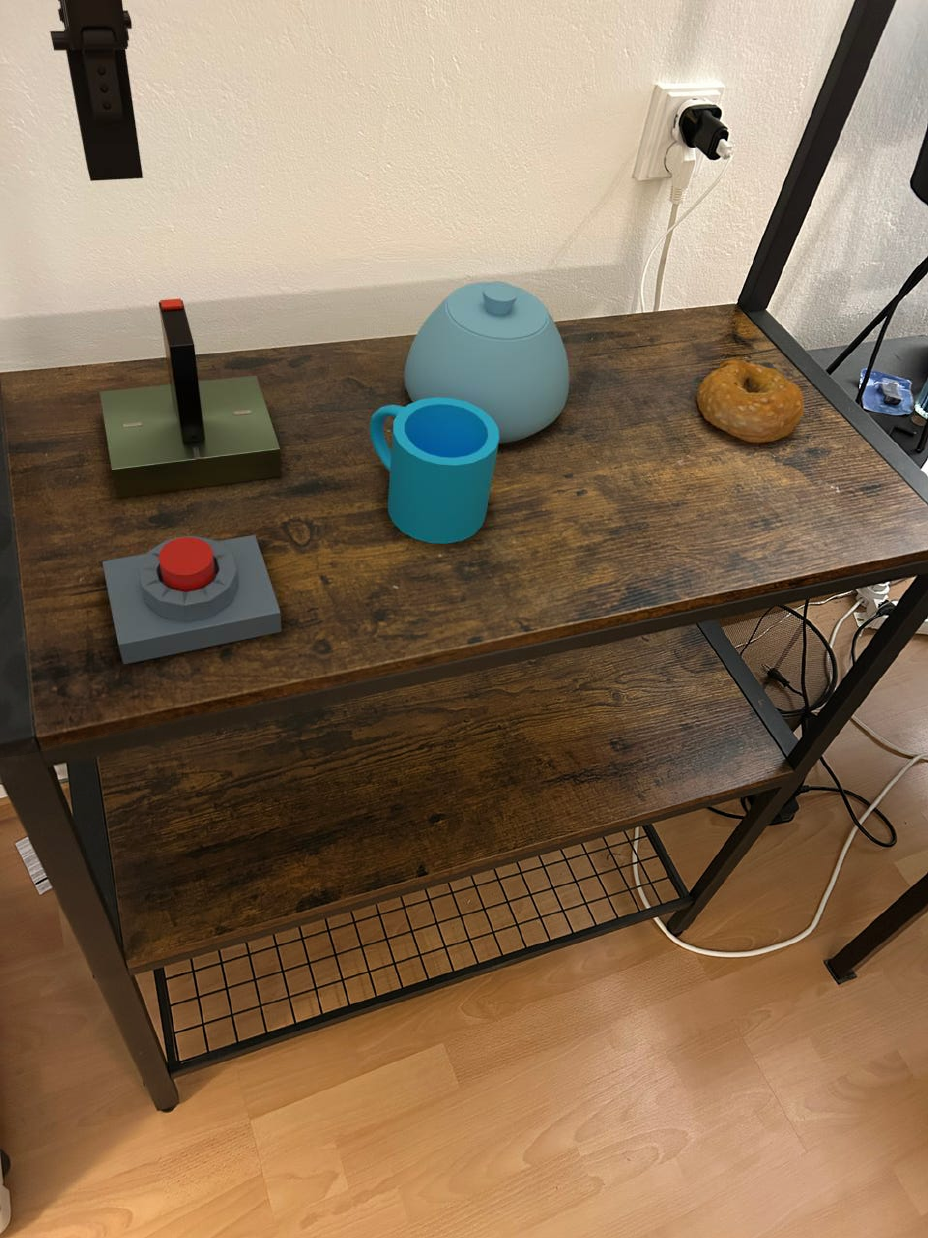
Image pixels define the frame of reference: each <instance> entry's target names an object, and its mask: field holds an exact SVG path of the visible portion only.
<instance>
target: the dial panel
mask: <svg viewBox="0 0 928 1238" xmlns="http://www.w3.org/2000/svg"><path fill="white" fill-rule="evenodd" d="M198 381H199V390H200V398H201V407H202V416H203V424H204V433H205V441H197V442H189V443H182V439H181V435H180V430H179V426H178V422H177V417H176V413H175V409H174V404H173V400H172V394H171V387H170V383H169V384H160V385H150V386H140V387H139V386H138V387H131V388H121V389H111V390H102V391H101V390H100V391H99V392H98V393H99V398H100V399H99V400H100V405H101V411H102V416H103V423H104V430H105V436H106V443H107V449H108V453H109V454H108V455H109V462H110V468H111V472H112V477H113V483H114V487H115V492H116V496H117V498H118V499H123V498H130V497H131V498H132V497H135V496H136V497H138V496H146V495H152V494H153V495H154V494H160V493H168V492H169V493H170V492H175V491H176V492H177V491H183V490H190V489H198V488H205V487H212V486H220V485H228V484H236V483H244V482H251V481H258V480H265V479H275V478H280V477H282V464H281V463H282V460H281V459H282V458H281V447H280V443H279V441H278V438H277V435H276V432H275V429H274V426H273V425H274V424H273V423H272V420H271V416H270V413H269V411H268V406H267V403H266V402H265V401H266V400H265V398H264V395H263V391H262V388H261V386H260V382H259V379H258V376H257V375H248V376H239V377H238V376H237V377H229V378H227V377H226V378H218V379H208V380H198Z"/></svg>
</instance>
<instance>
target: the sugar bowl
mask: <svg viewBox="0 0 928 1238" xmlns="http://www.w3.org/2000/svg"><path fill="white" fill-rule="evenodd" d="M569 371H570V369H569V361H568V356H567V351H566V348H565V344H564V342H563V339H562V335H560V332H559V330H558V327H557V326H556V323H555V321H554V319H553V316H552V314H551V313H550V311H549V310H548V308H547V306H546V305H545V304H544V303H543V301H541V300H540V298H538V297H537V296H535V295H534V294H533V293H531V292H529V291H527V290H525V289H523V288H521V287H518V286H515V285H512V284H510V283H508V282H505V281H495V280H494V281H480V282H474V283H469V284H466V285H465V284H464V285H463V286H460V287H458V288H457V289H455V290H453V291H452V292H451V293H450V294H449V295H448V296H447V297H445V298H444V299H443V300H442V301H441V302H440V304H439V305H437V307H436V308H435V309H434V310H433V311H432V312H431V313H430V315H429V316H428V317H427V318H426V320H425V321H424V322H423V323H422V325H421V326H420V328H419V330H418V331H417V333H416V334H415V337H414V339H413V341H412V343H411V346H410V348H409V351H408V355H407V357H406V361H405V365H404V372H403V373H404V374H403V381H404V386H405V389H406V392H407V394H408V397H409V399H410V400H411V403H414V402H416V401H419V400H421V399H428V398H436V397H439V398H453V399H457V400H461V401H465V402H469V403H471V404H473V405H475V406H477V407H479V408H481V409H482V410H483V411H485V412H486V413H487V414H488V415H489V416H490V417H492V419H493V420H494V422H495V424H496V425H497V427H498V431H499V443H498V445H501V444H508V443H514V442H518V441H521V440H523V439H526V438H528V437H530V436H532V435H534V434H536V433H539V432H540V431H542V430H543V429H545V428H547V427H548V426H549V425H551V424H552V423H554V421H555V420H556V419H557V418H558V417H559V416H560V414H561V413H562V411H563V410H564V408H565V406H566V403H567V400H568V396H569V388H570V372H569Z"/></svg>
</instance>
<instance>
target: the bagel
mask: <svg viewBox="0 0 928 1238" xmlns="http://www.w3.org/2000/svg"><path fill="white" fill-rule="evenodd" d="M696 402H697V405H698V409H699V411H700V412H701V414H702V416H703V419H704V420H706V421H707V422H709V423H710V424H711V425H712V426H715V428H717V429H720V430H723V431H724V432H725V433H727V434H729V435H730V436H733V437H735V438H737V439H739V440H741V441H744V442H746V443H747V442H748V443H752V444H764V443H770V442H776V441H778V440H779V439H783V438H785V437H788V435H789V434H791V433H793V431H794V428H795V427H796V425H798V423H800V422H801V420H802V418H803V416H804V413H805V412H804V411H805V405H804V404H805V403H804V395H803V392H802V391H801V389H800V387H799V385H798V384H796V383H794V382H791V381H789V380H788V379H787V378H786V377H785V376H784V375H783V374H782V373H781V372H780V371H778V370H777V369H776V368H773V367H766V366H764V365H761V364H757V363H753V362H749V361H746V360H739V359H736V358H733V359H728V360H726V361H724V362H722V363H720V364H719V368H717V369H714V370H713V371H711V372H710V373H709V374H708V375H706V377H705V378H704V379H703V380H702V382H701V383H700V385H699V387H698V388H697V393H696Z"/></svg>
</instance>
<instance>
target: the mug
mask: <svg viewBox="0 0 928 1238" xmlns="http://www.w3.org/2000/svg"><path fill="white" fill-rule="evenodd" d="M388 417H395V418H394V420H393V424H392V425H393V426H392V439H391V449H390V447H389V445H388V442H387V440H386V437H385V433H384V423H385V420H386V419H387V418H388ZM369 436H370V440H371V442H372V446H373V448H374V451H375V453H376V455H377V456H378V458H379V460H380V461H381V464H382V465H383V466H384V467H385V469H386V470H387V471H388V472H389V481H388V482H389V483H388V496H387V513H388V515H389V517H390V520H391V521H392V522H391V523H393V524H394V525H395V526H396V528H397V529H399V531H401V533H403V534H405V535H407V536H409V537H411V538H412V539H415V540H418V541H422V542H424V543H429V544H443V545H448V544H452V543H458V542H462V541H464V540H466V539H468V538H470V537H473V536H474V535H475V534H477V532H478V531H479V530H480V529H481V528H482V527H483V525H484V522H485V520H486V517H487V511H488V506H489V499H490V494H491V488H492V483H493V479H494V471H495V466H496V460H497V455H498V449H499V444H498V443H499V431H498V427H497V425H496V424H495V422H494V420H493V419H492V417H490V416H489V415H488V414H487V413H486V412H485V411H483V410H482V409H481V408H479V407H477V406H475V405H473V404H471V403H469V402H465V401H461V400H457V399H453V398H439V397H436V398H428V399H421V400H419V401H416V402H414V403H413V402H411V403H408V404H407V405H406V406H402V405H398V404H388V405H384V406H381V407H379V408H378V409H377V410H376V411H375V412H374V413H373V414H372V415H371V419H370V423H369Z"/></svg>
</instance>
